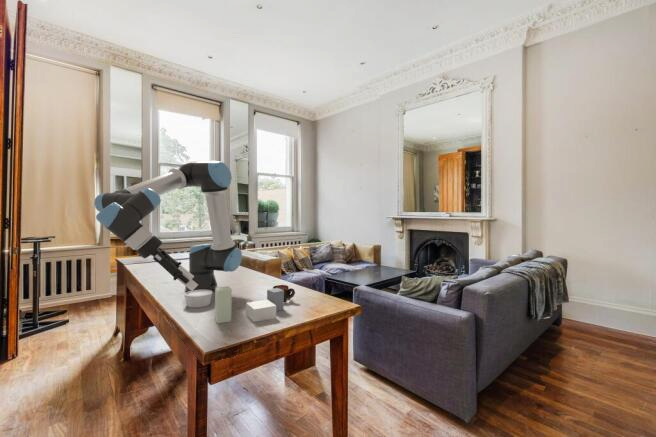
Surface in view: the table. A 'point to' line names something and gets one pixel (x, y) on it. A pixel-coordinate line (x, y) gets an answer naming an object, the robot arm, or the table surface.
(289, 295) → the pottery mug
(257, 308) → the base block
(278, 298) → the slate block
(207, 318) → the table surface
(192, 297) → the ramekin
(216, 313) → the sage block
